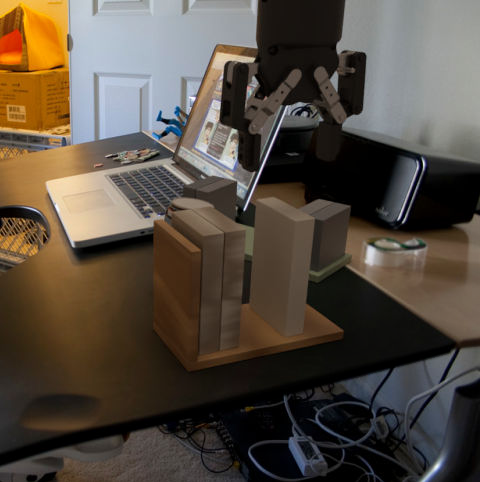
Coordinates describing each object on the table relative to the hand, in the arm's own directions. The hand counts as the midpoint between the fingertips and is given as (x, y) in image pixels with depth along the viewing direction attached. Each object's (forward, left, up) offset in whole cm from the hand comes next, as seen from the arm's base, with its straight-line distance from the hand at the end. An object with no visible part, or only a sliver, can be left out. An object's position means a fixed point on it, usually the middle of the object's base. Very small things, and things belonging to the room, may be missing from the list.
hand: (288, 164), depth 63 cm
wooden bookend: (+2, +3, -19) cm, 19 cm away
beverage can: (+13, 0, -19) cm, 23 cm away
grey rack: (+14, -18, -19) cm, 29 cm away
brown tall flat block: (0, 0, -18) cm, 18 cm away
